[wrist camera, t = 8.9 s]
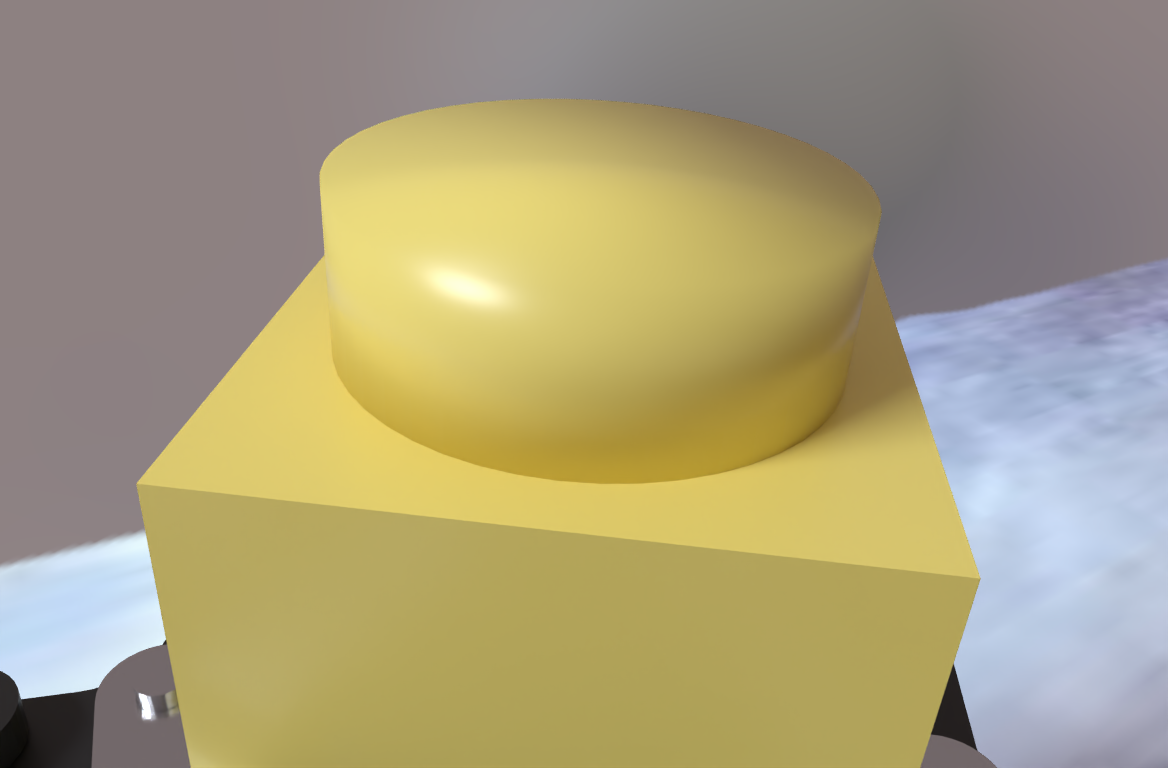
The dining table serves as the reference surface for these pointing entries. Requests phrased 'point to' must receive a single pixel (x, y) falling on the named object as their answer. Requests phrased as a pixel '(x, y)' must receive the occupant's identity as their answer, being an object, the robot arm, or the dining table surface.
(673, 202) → the tall yellow stud brick
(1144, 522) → the dining table surface
